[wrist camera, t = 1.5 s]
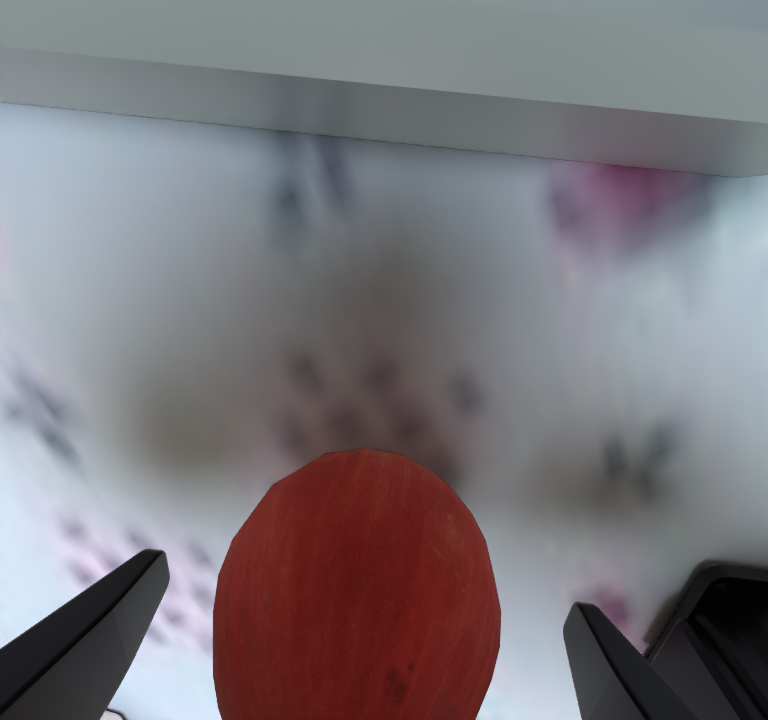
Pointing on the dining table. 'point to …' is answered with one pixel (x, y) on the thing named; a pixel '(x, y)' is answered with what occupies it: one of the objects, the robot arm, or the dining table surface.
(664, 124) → the tray
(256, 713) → the onion
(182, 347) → the dining table surface
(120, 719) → the jar
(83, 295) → the dining table surface
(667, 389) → the dining table surface
